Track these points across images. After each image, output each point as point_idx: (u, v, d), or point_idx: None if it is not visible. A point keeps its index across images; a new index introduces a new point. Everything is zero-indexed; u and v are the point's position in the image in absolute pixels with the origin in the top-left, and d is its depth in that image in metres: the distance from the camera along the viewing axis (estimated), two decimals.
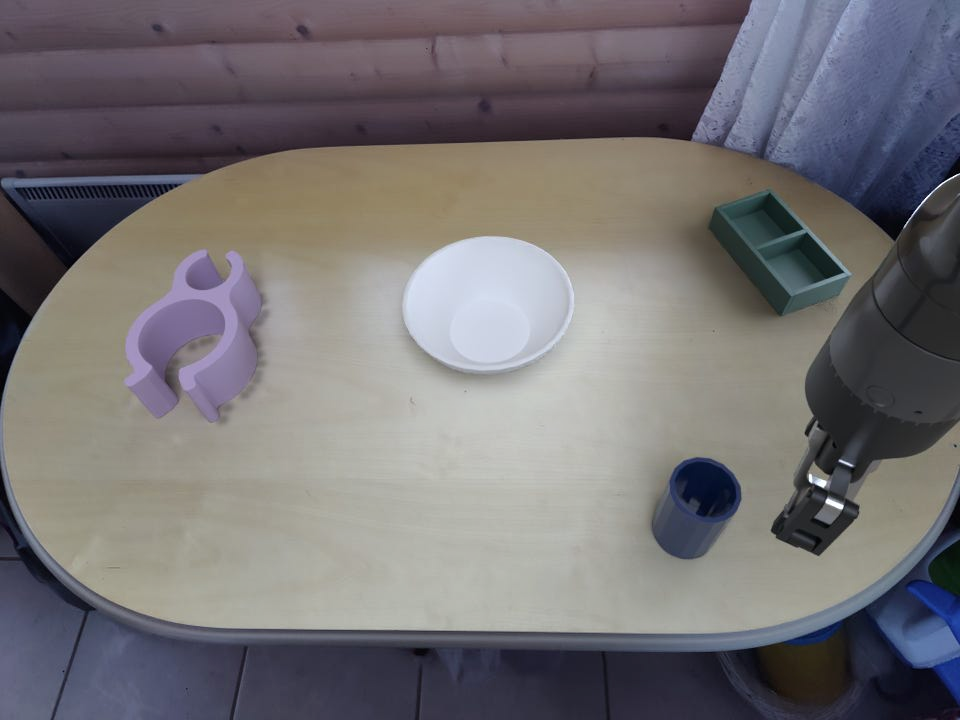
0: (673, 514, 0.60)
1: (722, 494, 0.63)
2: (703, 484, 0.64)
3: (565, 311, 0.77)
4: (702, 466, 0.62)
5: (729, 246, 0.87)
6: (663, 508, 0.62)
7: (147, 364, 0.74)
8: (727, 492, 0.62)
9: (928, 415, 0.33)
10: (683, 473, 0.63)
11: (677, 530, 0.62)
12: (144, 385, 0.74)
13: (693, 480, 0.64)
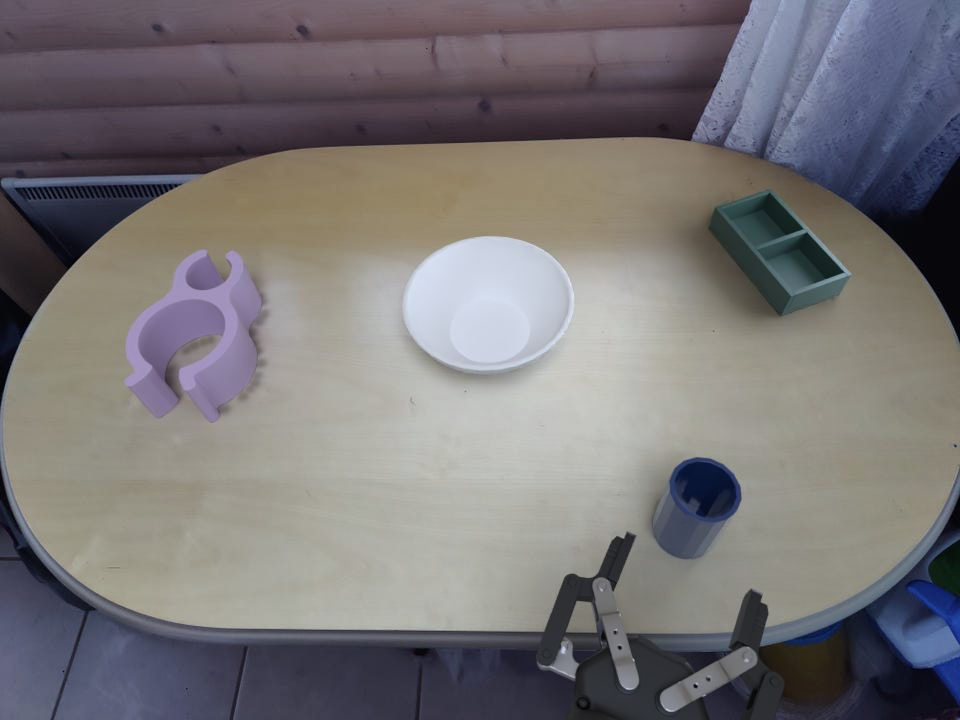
0: (673, 514, 0.60)
1: (722, 494, 0.63)
2: (703, 484, 0.64)
3: (565, 311, 0.77)
4: (702, 466, 0.62)
5: (729, 246, 0.87)
6: (663, 508, 0.62)
7: (147, 364, 0.74)
8: (727, 492, 0.62)
9: None
10: (683, 473, 0.63)
11: (677, 530, 0.62)
12: (144, 385, 0.74)
13: (693, 480, 0.64)
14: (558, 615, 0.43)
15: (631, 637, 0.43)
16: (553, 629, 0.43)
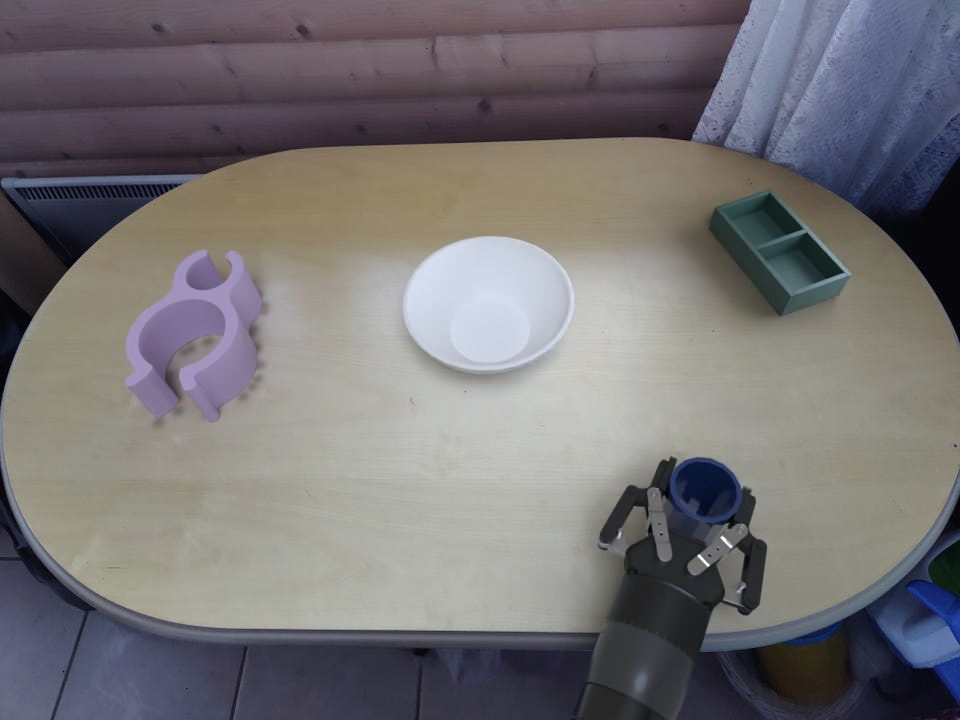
0: (673, 514, 0.60)
1: (722, 494, 0.63)
2: (703, 484, 0.64)
3: (565, 311, 0.77)
4: (703, 466, 0.62)
5: (729, 246, 0.87)
6: (663, 508, 0.62)
7: (147, 364, 0.74)
8: (727, 492, 0.62)
9: (691, 672, 0.52)
10: (683, 473, 0.63)
11: None
12: (144, 385, 0.74)
13: (693, 480, 0.64)
14: (619, 511, 0.60)
15: None
16: (614, 519, 0.59)
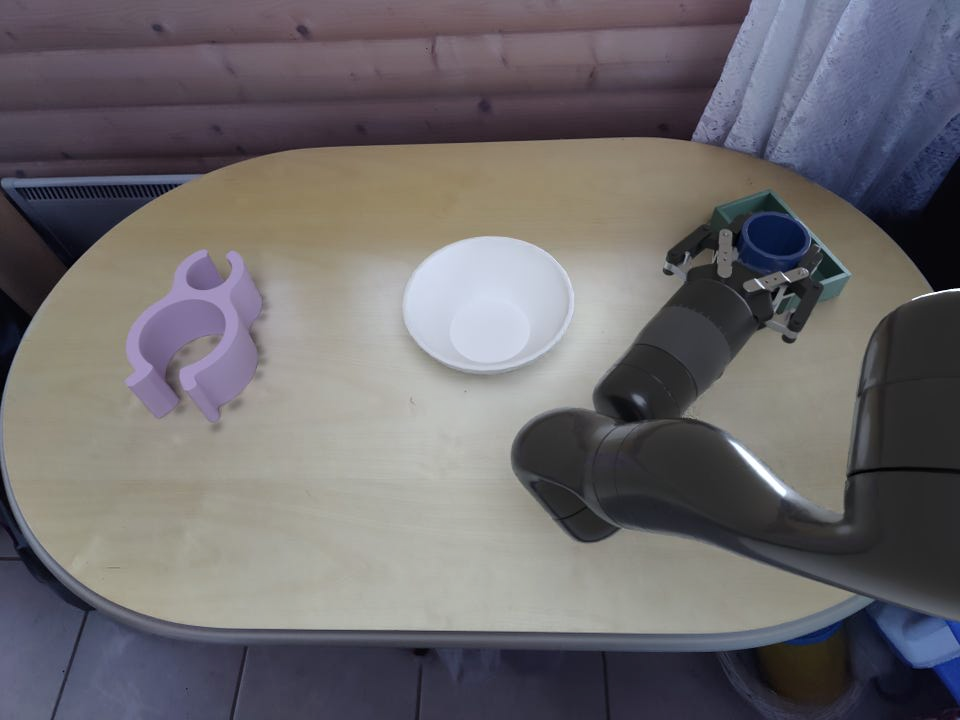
0: (740, 256, 0.64)
1: None
2: (774, 251, 0.68)
3: (565, 311, 0.77)
4: (778, 223, 0.65)
5: None
6: None
7: (148, 364, 0.74)
8: (796, 251, 0.65)
9: (725, 357, 0.56)
10: (758, 230, 0.66)
11: None
12: (145, 385, 0.74)
13: (765, 245, 0.68)
14: (689, 239, 0.64)
15: None
16: (683, 244, 0.64)
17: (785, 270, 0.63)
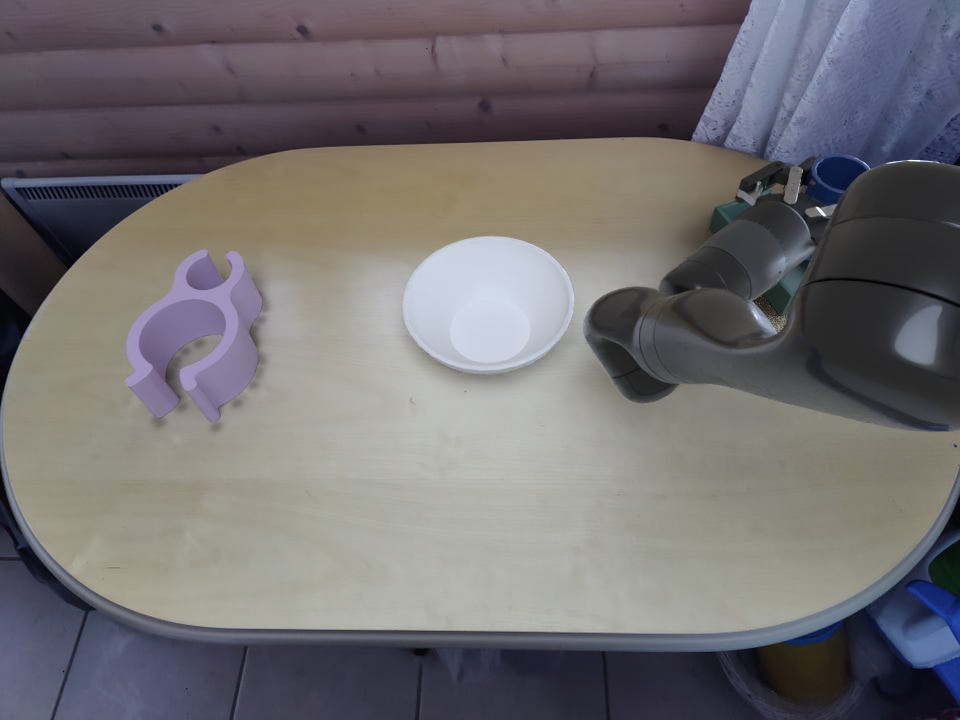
0: (807, 191, 0.72)
1: None
2: None
3: (565, 311, 0.77)
4: (846, 165, 0.72)
5: None
6: None
7: (148, 364, 0.74)
8: None
9: (780, 267, 0.65)
10: (827, 171, 0.74)
11: None
12: (145, 385, 0.74)
13: (833, 187, 0.75)
14: (762, 172, 0.72)
15: None
16: (756, 175, 0.72)
17: None
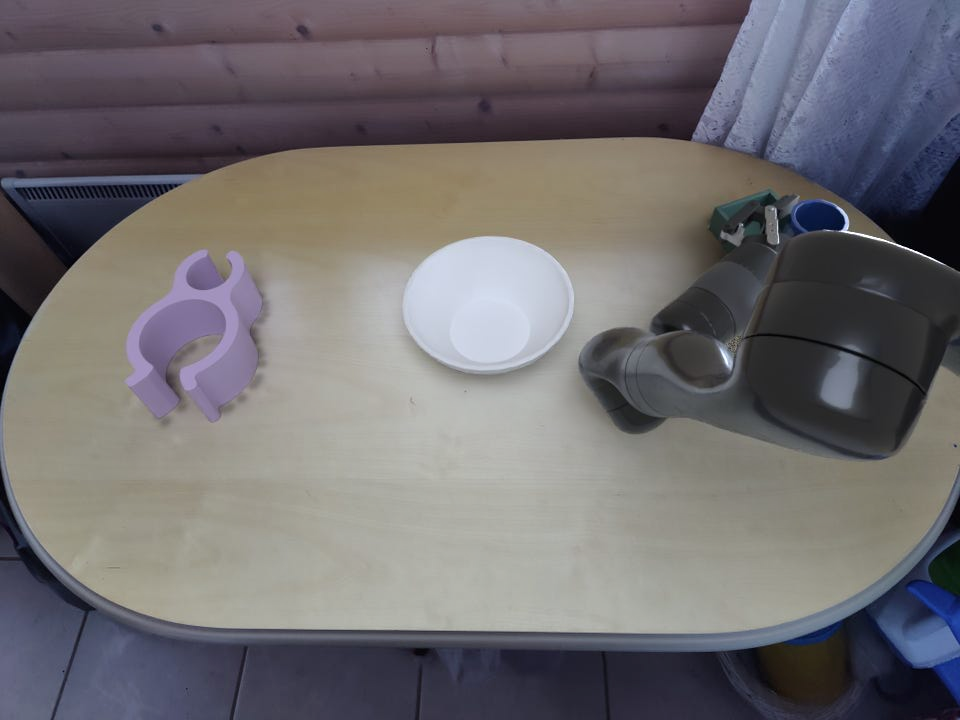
0: None
1: None
2: None
3: (565, 311, 0.77)
4: (824, 209, 0.78)
5: (729, 246, 0.87)
6: None
7: (148, 364, 0.74)
8: None
9: None
10: (806, 214, 0.79)
11: None
12: (145, 385, 0.74)
13: (812, 229, 0.80)
14: (741, 213, 0.77)
15: (779, 233, 0.76)
16: (736, 217, 0.77)
17: None
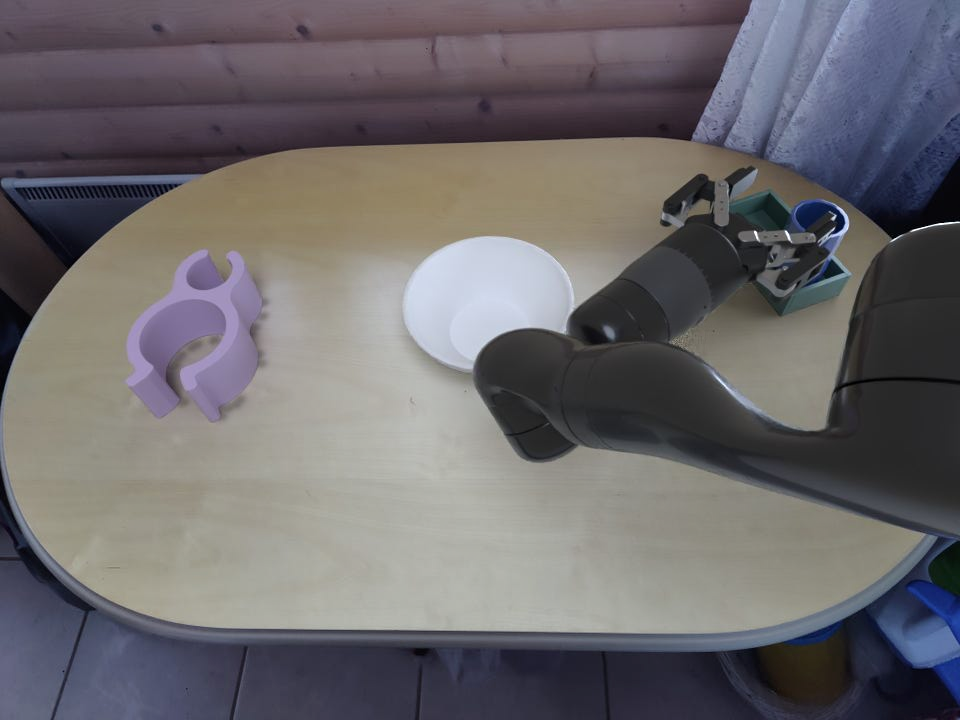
0: None
1: None
2: None
3: (565, 311, 0.77)
4: (824, 209, 0.78)
5: None
6: None
7: (148, 364, 0.74)
8: None
9: (705, 301, 0.56)
10: (806, 214, 0.79)
11: None
12: (145, 385, 0.74)
13: None
14: (686, 189, 0.63)
15: None
16: (679, 194, 0.63)
17: None
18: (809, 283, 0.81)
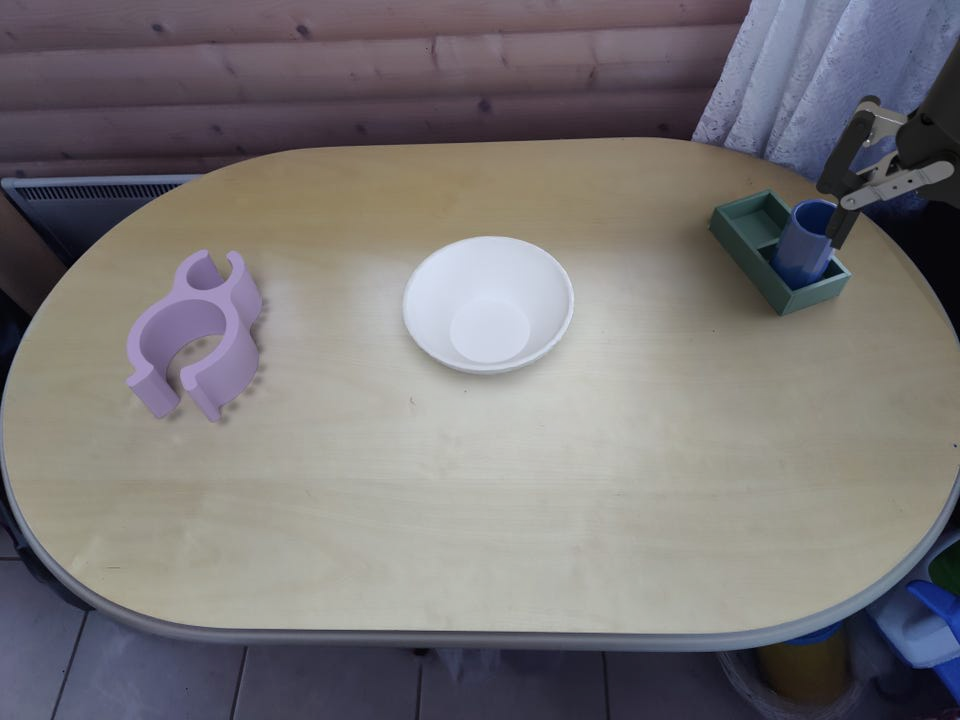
0: (787, 234, 0.77)
1: None
2: (819, 234, 0.80)
3: (565, 311, 0.77)
4: (824, 209, 0.78)
5: (729, 246, 0.87)
6: (780, 236, 0.79)
7: (148, 364, 0.74)
8: None
9: None
10: (806, 214, 0.79)
11: (786, 252, 0.79)
12: (145, 385, 0.74)
13: (812, 229, 0.80)
14: None
15: None
16: None
17: (823, 248, 0.75)
18: (809, 283, 0.81)
